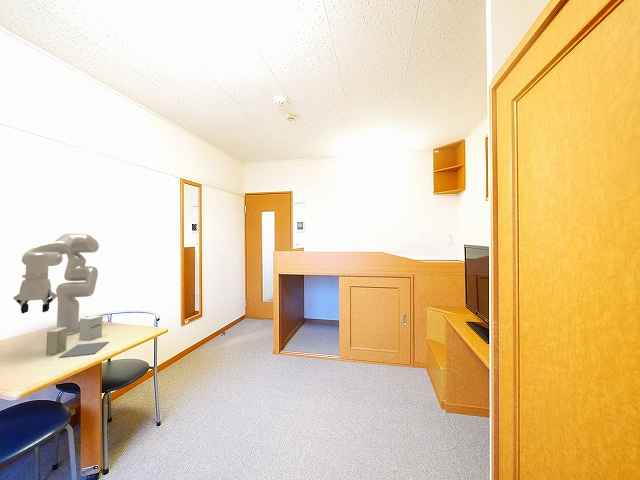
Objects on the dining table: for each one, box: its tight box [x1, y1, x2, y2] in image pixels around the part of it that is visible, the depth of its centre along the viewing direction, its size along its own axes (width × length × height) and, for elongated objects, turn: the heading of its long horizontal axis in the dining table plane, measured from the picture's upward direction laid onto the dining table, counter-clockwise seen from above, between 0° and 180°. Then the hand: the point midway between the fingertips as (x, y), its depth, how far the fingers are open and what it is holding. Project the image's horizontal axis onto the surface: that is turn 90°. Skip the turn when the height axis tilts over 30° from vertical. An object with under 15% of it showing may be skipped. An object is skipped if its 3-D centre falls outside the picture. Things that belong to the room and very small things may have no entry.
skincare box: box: [45, 327, 68, 356], centre depth 126 cm, size 6×4×12 cm
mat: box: [58, 341, 110, 359], centre depth 130 cm, size 16×14×1 cm
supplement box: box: [78, 314, 103, 342], centre depth 146 cm, size 7×7×13 cm
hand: (35, 311), depth 123 cm, fingers open, 7 cm apart
